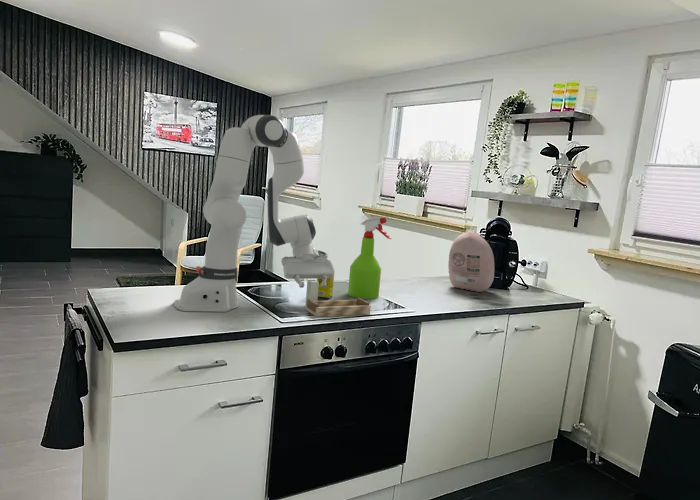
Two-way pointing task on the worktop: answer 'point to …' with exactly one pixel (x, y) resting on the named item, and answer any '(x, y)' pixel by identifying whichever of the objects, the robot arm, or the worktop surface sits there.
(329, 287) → the supplement box
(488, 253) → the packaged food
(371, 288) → the spray bottle
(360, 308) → the wooden tray
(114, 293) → the worktop surface
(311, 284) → the pale grey-green block
